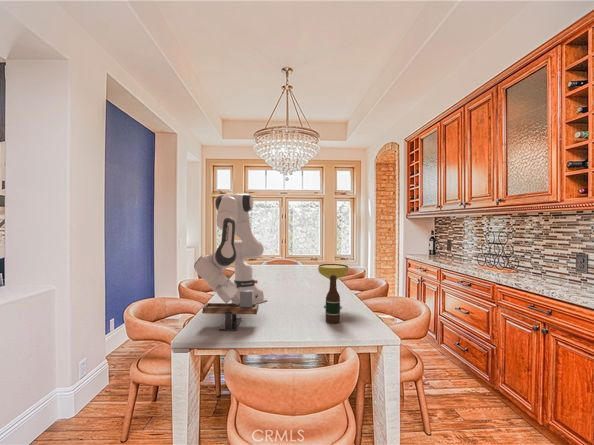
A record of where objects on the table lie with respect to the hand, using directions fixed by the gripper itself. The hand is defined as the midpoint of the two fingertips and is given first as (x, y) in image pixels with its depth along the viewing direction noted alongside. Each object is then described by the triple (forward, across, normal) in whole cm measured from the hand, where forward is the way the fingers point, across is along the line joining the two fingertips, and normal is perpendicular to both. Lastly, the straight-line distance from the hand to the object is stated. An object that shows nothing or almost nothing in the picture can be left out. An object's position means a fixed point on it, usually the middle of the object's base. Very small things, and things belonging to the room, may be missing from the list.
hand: (239, 303), depth 166 cm
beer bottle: (+41, +7, -26) cm, 49 cm away
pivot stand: (+5, 0, +11) cm, 12 cm away
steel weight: (+4, 0, -1) cm, 4 cm away
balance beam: (0, 0, +6) cm, 6 cm away
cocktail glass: (+43, +36, -28) cm, 63 cm away
